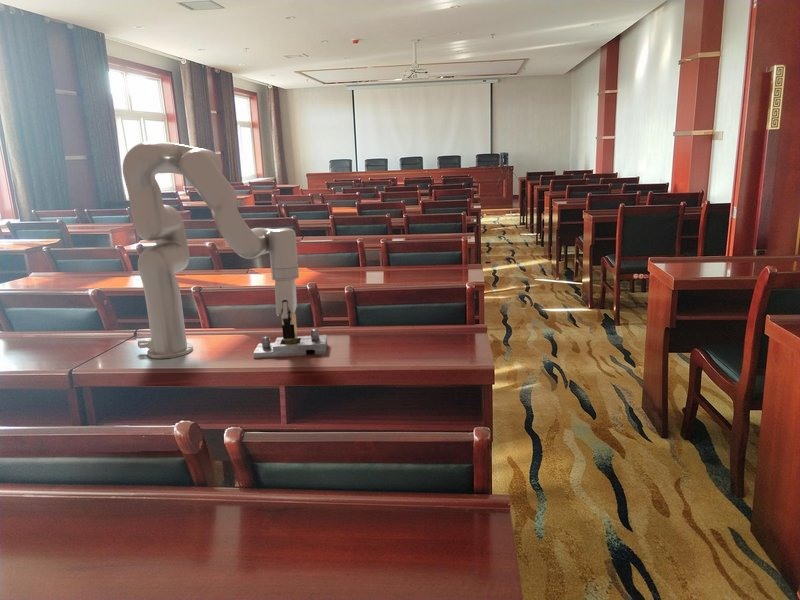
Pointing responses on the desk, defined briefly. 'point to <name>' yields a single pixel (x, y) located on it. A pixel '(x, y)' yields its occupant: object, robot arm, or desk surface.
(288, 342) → the brass pin
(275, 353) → the slotted link plate
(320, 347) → the upper chain link
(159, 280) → the robot arm
